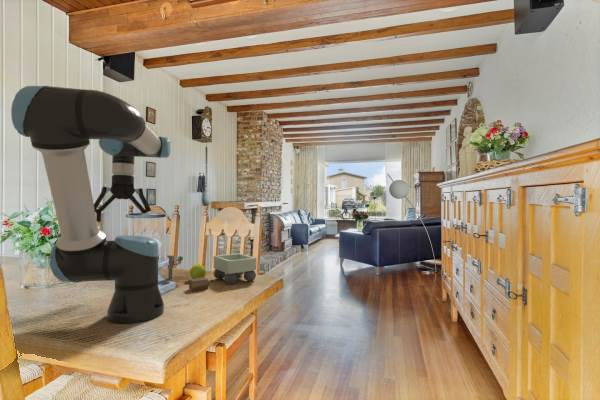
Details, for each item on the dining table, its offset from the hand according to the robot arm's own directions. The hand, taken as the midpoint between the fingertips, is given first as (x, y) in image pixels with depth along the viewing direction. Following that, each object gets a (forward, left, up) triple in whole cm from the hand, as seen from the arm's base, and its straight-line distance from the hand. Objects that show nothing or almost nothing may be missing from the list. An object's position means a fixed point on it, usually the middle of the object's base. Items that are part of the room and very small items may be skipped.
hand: (121, 230), depth 123 cm
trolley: (-11, -42, -23) cm, 49 cm away
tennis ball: (-2, -29, -23) cm, 37 cm away
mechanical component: (+7, -20, -23) cm, 31 cm away
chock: (-17, -24, -23) cm, 37 cm away
